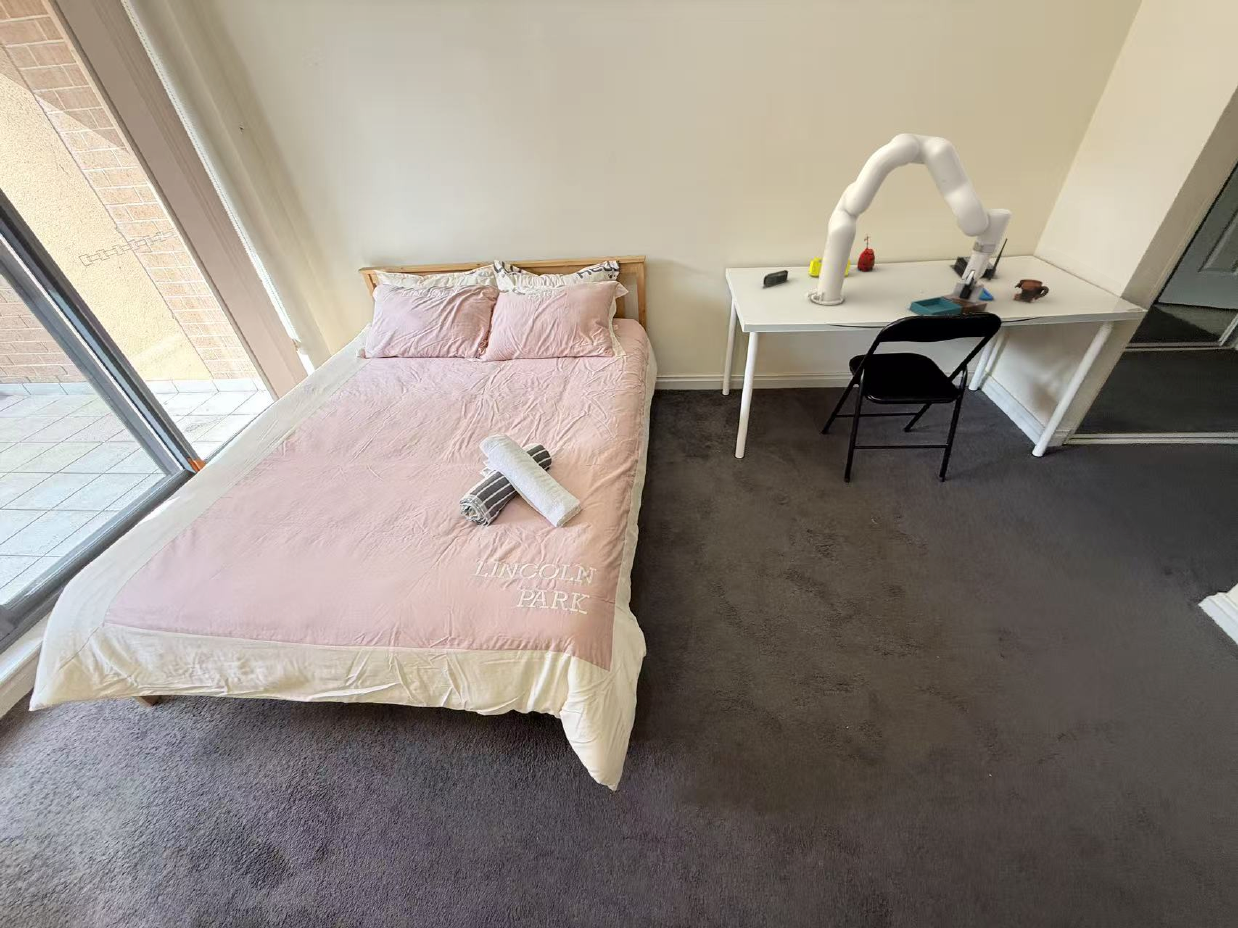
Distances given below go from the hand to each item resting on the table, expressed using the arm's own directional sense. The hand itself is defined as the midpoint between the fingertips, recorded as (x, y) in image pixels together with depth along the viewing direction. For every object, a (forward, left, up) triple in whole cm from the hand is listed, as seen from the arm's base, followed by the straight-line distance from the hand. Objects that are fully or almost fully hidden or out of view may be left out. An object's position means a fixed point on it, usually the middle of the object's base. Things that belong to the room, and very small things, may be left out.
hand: (965, 296), depth 188 cm
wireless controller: (+32, +27, -4) cm, 42 cm away
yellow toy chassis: (-26, +50, -4) cm, 57 cm away
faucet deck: (0, 0, -4) cm, 4 cm away
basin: (-12, 0, -4) cm, 13 cm away
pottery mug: (+28, -3, -4) cm, 28 cm away
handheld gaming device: (+15, +9, -4) cm, 18 cm away
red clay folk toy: (-7, +50, -4) cm, 51 cm away
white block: (0, 0, -1) cm, 1 cm away
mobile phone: (-53, +50, -4) cm, 73 cm away
